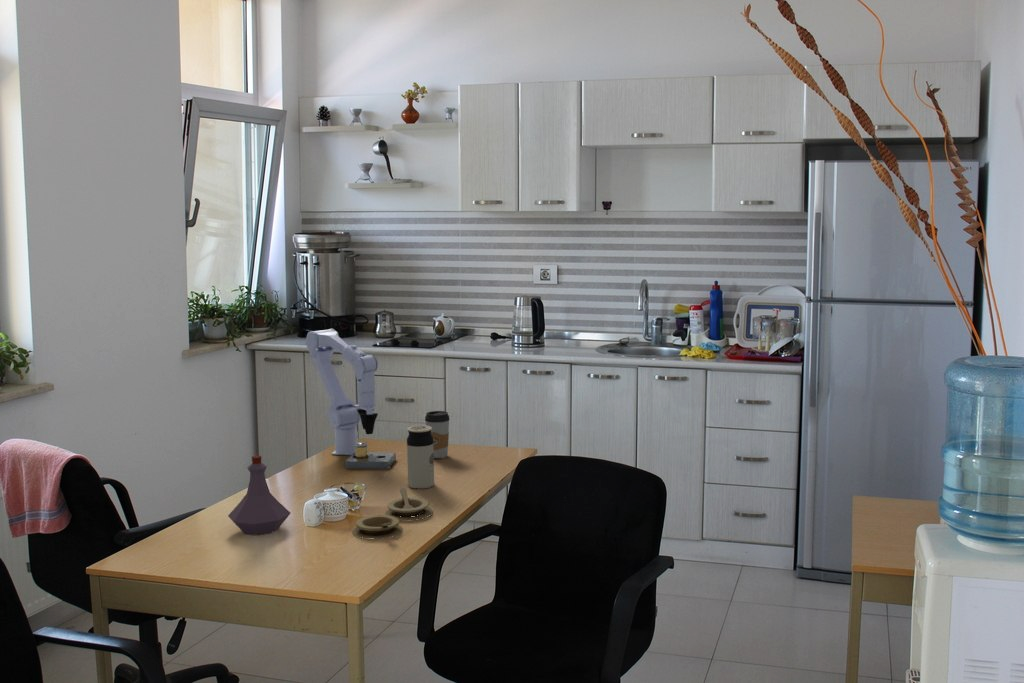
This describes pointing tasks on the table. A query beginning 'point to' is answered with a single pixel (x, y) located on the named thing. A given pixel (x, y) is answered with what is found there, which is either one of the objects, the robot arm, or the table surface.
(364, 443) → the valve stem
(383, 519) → the tableware set
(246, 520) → the flask
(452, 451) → the table surface
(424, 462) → the travel mug
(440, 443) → the coffee cup
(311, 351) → the robot arm
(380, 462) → the block
